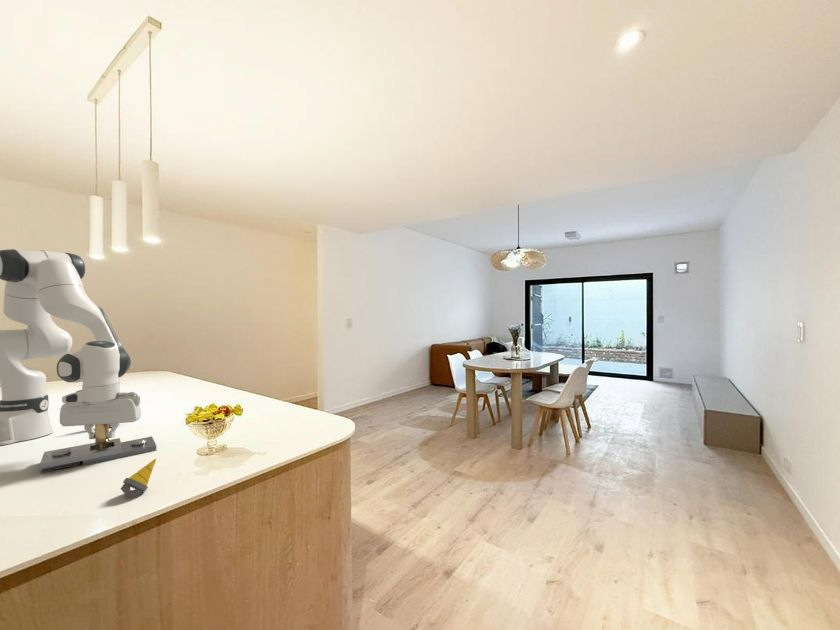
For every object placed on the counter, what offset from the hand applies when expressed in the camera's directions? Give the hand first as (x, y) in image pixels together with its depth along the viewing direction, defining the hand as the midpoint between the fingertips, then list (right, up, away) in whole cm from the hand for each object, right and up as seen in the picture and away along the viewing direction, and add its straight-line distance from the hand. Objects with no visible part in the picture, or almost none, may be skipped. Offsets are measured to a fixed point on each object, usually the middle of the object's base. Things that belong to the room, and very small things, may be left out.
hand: (102, 437), depth 112 cm
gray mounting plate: (0, -6, 0) cm, 6 cm away
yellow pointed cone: (+30, -6, -23) cm, 38 cm away
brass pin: (0, -4, 0) cm, 4 cm away
